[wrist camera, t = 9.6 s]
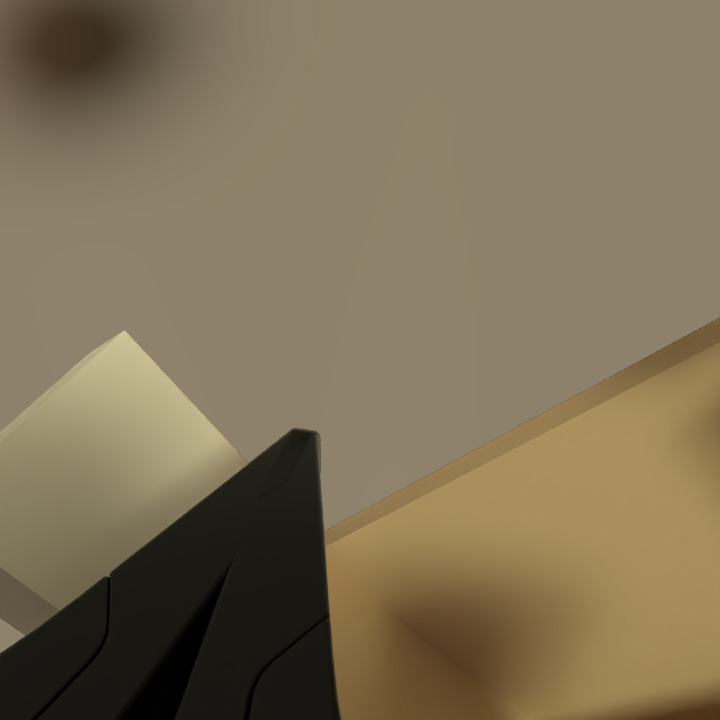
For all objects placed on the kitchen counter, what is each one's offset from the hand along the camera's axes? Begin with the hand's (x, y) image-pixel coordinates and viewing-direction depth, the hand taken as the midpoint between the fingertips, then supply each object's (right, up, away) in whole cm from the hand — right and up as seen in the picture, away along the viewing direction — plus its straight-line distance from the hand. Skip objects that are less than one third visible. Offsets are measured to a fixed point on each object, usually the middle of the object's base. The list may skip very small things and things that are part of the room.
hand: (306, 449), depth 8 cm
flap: (-2, 0, +2) cm, 3 cm away
